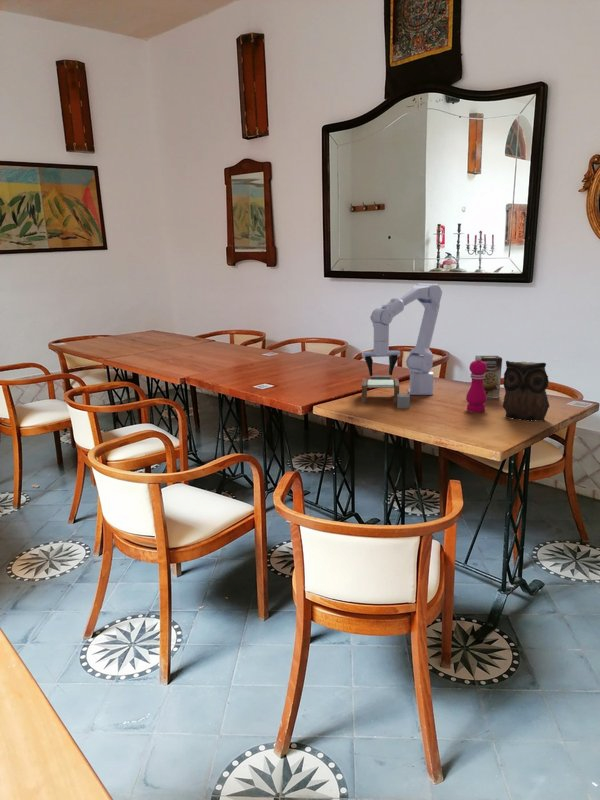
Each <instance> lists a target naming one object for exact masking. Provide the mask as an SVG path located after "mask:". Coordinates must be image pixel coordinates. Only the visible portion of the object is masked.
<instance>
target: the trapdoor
mask: <svg viewBox="0 0 600 800" xmlns="http://www.w3.org/2000/svg"><path fill="white" fill-rule="evenodd" d="M391 376H392V375H372V376H370V378H367V383H368V387H389V388H390V389H394V379H392V377H391ZM389 388H388V389H389Z"/></svg>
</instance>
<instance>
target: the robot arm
mask: <svg viewBox="0 0 600 800" xmlns="http://www.w3.org/2000/svg"><path fill="white" fill-rule="evenodd" d="M442 295H443V290H442V287H440V285H439V284H437V283H421V282H418V283H416V284H415V285H413V286H412V288H411V289H410V290H409V291H407V292H405V294H404V295H402V296H400V298H398V297H396V298H395V297H394V298H391V299H390V301H388V302H387V303H386V304H383V305H382V306H381V307H380V308H379V307H378V308H375V309H373V311H372V312H371V314H370V316H369V317H370V321H371V323H372V327H373V350H370V351H362V352H361V358H363V359H364V360H365V363H366V365H367V368H368V374H369V376H370V377H371V376H373V362H374V360H373V358H380V357H382V358H383V357H385V358H386V357H388V366H389V367H388V374H389V375H388V376H392V375H393V373H394V372H393V371H394V368H395V366H396V364H397V362H398V359H399V357H401V351H400V350H390V349H389V345H390V343H389V342H390V339H389V337H390V324H391V323H392V321H393V319H394V317H396V316H398V315H399V314H401V313H403V311H404V309H405V306H407V305H409V304H411V303H413V302H415V301H416V300H417V301H418V302H419V303H420V304H421V305H422V306H423V308H424V311H423V315H422V319H421V324H420V328H419V332H418V336H417V340H416V344H415V346H414V347H413V348H412V349H410V351H409V354H408V356H407V357H406V361H405V362H406V363H405V364H406V367H407V368H408V372H409V374H410V375H409V388H408V390H407V391H408V394H409V395H410V396H411V395H414V396H415V395H419V396H421V395H422V396H425V395H426V396H429V395H431V396H432V395H434V372H433V371H432V368H433V365H434V361H433V358H434V354H433V353H432V351H431V350H430V348H431V343H432V340H433V335H434V331H435V327H436V323H437V318H438V315H439V312H440V311H439V310H440V305H441V304H440V303H441V299H442Z"/></svg>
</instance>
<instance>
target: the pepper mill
mask: <svg viewBox="0 0 600 800" xmlns="http://www.w3.org/2000/svg"><path fill="white" fill-rule="evenodd" d="M476 356H477V357H476V360H475V359H474V360H473V361H471V362H470V364H469V371H470V379H471V384H470V387H469V389H468V391H467V392H466V395H465V396H466V397H465V400H466V402H467V403H468V404H467V405H466V411H468V412H470V411H471V413H483V412H485V410H486V406H485V403H486V402H487V400H488V398H487V396H486V393H485V390H484V388H483V379H484V378H485V374H484V373H485V372H486V370H487V365H486V363H485V362H483V361H481V357H480V356H481V355H476Z"/></svg>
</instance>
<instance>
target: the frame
mask: <svg viewBox="0 0 600 800" xmlns="http://www.w3.org/2000/svg"><path fill="white" fill-rule="evenodd" d="M399 380H400V379H399V378H398V377H397V378H394V388H393V389H394V390H393V396H394V404H395V403H397V394H400V381H399ZM361 383H362V384H361V404H367V396H368V389H369V388H370V389H371V388H375V389H377V388H378V389H382V388H384V389H386V388H388V389H389V387H368V378H366V377H363V378H362V382H361Z"/></svg>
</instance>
